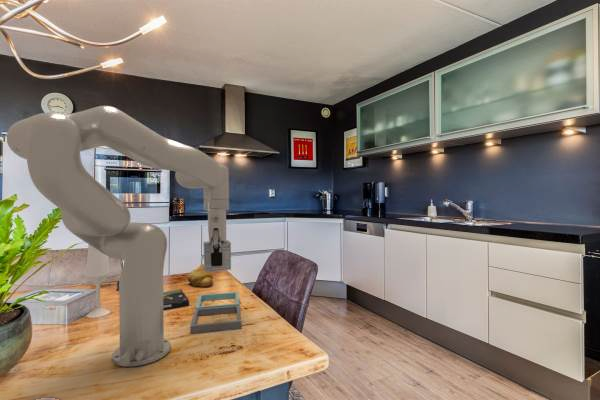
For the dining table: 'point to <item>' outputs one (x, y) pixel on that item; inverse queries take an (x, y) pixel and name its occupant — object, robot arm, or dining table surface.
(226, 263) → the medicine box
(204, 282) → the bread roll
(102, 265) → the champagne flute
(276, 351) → the dining table surface
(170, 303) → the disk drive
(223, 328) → the dock
